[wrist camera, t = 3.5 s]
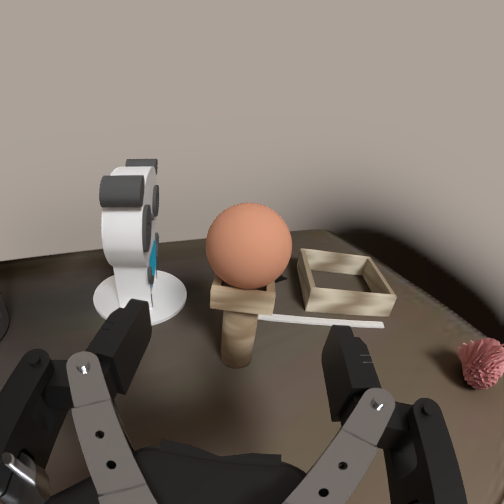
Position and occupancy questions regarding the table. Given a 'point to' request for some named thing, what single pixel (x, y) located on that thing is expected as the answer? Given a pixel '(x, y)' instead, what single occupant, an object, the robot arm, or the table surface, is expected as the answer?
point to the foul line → (320, 321)
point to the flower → (482, 362)
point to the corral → (344, 300)
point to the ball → (248, 245)
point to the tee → (240, 318)
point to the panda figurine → (134, 244)
